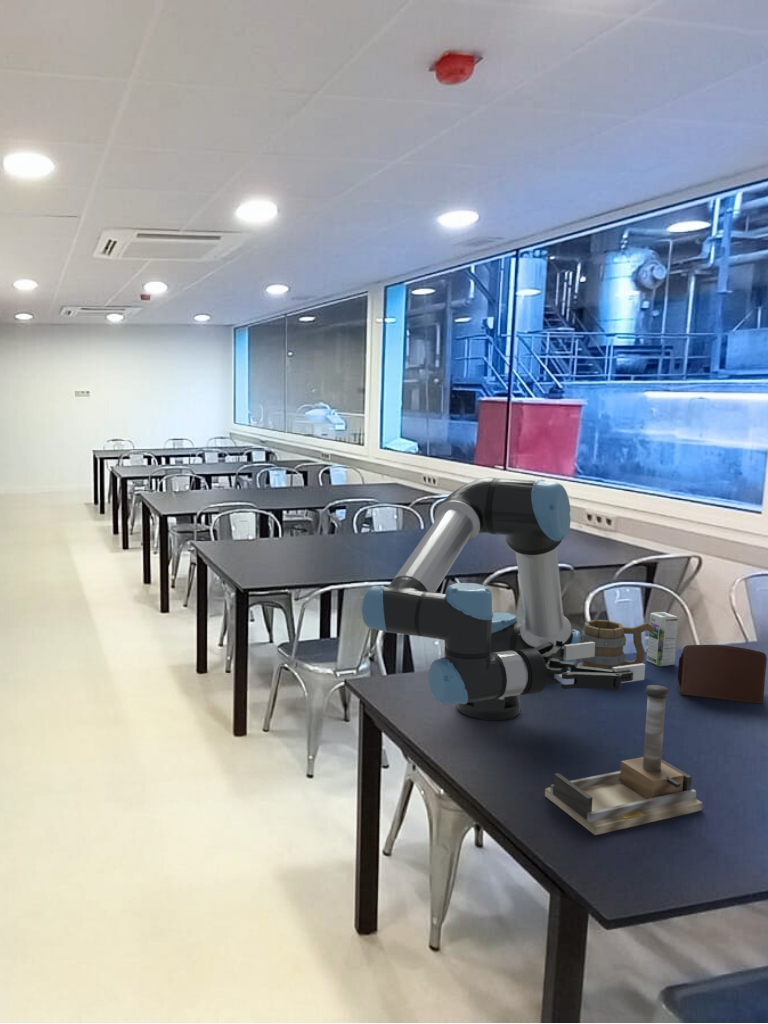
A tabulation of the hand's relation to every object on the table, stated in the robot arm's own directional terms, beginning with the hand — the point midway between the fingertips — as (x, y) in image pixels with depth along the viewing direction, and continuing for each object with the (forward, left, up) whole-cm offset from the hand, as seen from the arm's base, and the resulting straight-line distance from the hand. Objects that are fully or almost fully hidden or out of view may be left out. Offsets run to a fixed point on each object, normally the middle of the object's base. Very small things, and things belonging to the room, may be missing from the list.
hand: (617, 659), depth 145 cm
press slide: (+9, +4, -26) cm, 28 cm away
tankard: (+13, +77, -28) cm, 83 cm away
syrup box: (+28, +90, -28) cm, 98 cm away
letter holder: (+38, +67, -28) cm, 82 cm away
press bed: (+3, +2, -28) cm, 28 cm away
